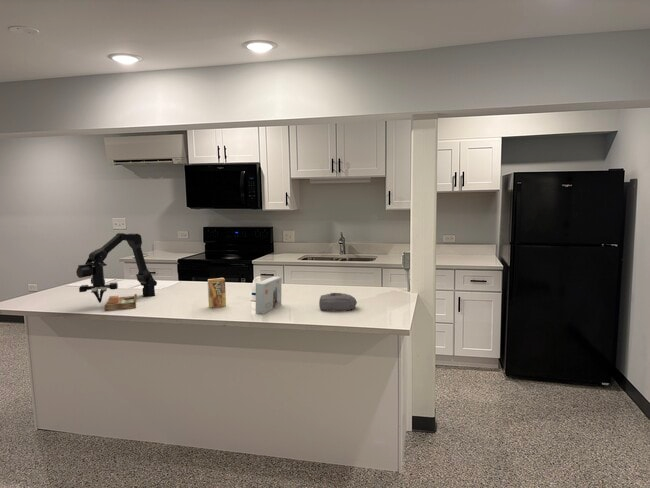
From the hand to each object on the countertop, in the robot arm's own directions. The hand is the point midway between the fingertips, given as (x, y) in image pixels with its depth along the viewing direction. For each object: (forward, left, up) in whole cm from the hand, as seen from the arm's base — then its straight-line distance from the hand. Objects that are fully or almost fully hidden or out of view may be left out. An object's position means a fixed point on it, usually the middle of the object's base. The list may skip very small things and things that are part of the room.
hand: (100, 302), depth 250 cm
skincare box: (-85, +42, -3) cm, 95 cm away
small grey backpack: (-119, +57, -3) cm, 132 cm away
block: (-7, 0, -1) cm, 7 cm away
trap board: (-11, -1, -3) cm, 11 cm away
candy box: (-60, +25, -3) cm, 66 cm away
